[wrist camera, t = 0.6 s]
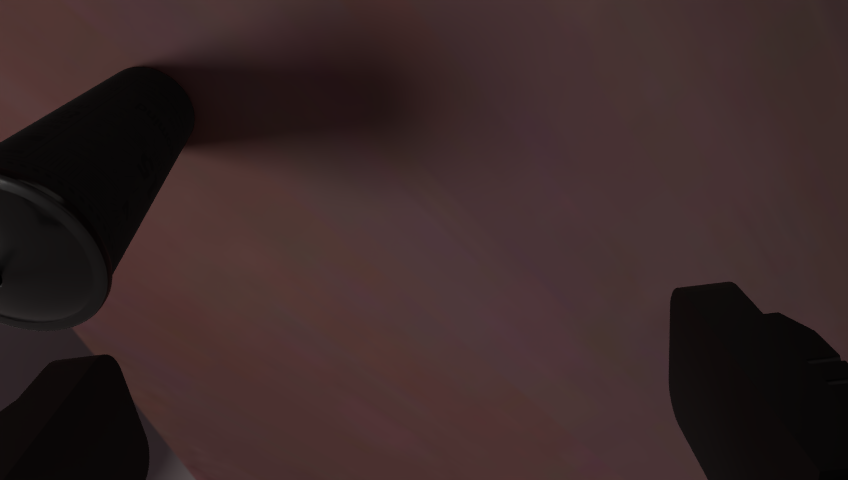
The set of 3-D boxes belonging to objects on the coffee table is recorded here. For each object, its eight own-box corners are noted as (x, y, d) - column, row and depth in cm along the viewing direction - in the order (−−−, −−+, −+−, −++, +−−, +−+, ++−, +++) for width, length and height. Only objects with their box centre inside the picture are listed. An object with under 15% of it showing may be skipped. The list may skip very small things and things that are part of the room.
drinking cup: (127, 182, 40) (-122, 472, 23) (53, 61, 36) (-312, 309, 19) (243, 154, 38) (62, 445, 22) (179, 24, 34) (-104, 261, 18)
